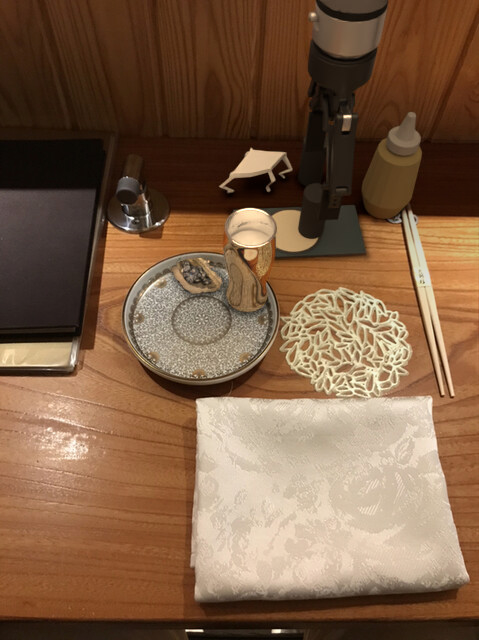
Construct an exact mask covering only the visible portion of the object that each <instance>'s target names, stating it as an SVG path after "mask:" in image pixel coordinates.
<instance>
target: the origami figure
mask: <svg viewBox="0 0 479 640" xmlns="http://www.w3.org/2000/svg"><path fill="white" fill-rule="evenodd" d="M287 153H288V152H284V151H266V150H260V149H259V150H258V149H253V147H250V149H249V151H246V152H245V154H244V158H243V159H242V160H241V162H240V163H239V164H238V166H236V168H235V169H234V170H233V171H231V172H230V173H229V177H228V178H227V179H226V180H225V181H224V182H223V183H221V184H220V185H219V188H221V189H223V190H226V191H227V192H226V193H227V194H232V193H234V192H235V190H234V189H232V188H230V187H227V186H226V185H227V184H228V183H230V182H231V181H232V180H234V179H239V178H240V179H241V178H251V177H256V176H259V175H263V174H267V173H268V175H269V179H270V182H269V183H268V184H267V185H266V186H265V190H266V192H268V193H270V192H271V187H270V186H271V185H272V184H273V183H274V182H276V178H275V175H274V173H273V169H274V168H275V167H276V166H277V165H279V163H280V162H281V161H283V163H285V165H286V167H287V168H288V169H285V170H283V171H280V172H279V173H278V175H279V176H280V177H281V178H282V179H285V178H286V176H285V175H284V174H286V173H290V172H292V171H293V166H292V163H290V160H289V158H288V156H287Z"/></svg>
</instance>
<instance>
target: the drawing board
mask: <svg viewBox="0 0 479 640" xmlns="http://www.w3.org/2000/svg"><path fill="white" fill-rule="evenodd" d="M301 207H302V206H295V207H293V206H292V207H291V206H290V207H268V208H267V207H266V208H265V207H264V208H260V209H261V210H263V211H265V212H267V213H269V214H270V215H271V216H272V217H273V218H274V220H275V222H276V225H277V245H276V254H275V260H278V259H302V258H305V259H306V258H323V257H324V258H326V257H345V256H346V257H348V256H351V257H352V256H366V255H367V250H366V246H365V240H364V237H363V232H362V229H361V224H360V221H359V216H358V212H357V211H358V210H357V208H356V205H355V204H345V205H341V209H340V214H339V218H338V220H326V221H325V226H324V230H323V234H322V235H321V236H320V237H318V238H315V239H308V238H305V237H303V236H302V235H301V234H300V233H299V231H298V225H299V219H300V213H301ZM237 210H239V208H237V209H232V213H233V212H235V211H237Z"/></svg>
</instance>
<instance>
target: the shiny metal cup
mask: <svg viewBox="0 0 479 640" xmlns="http://www.w3.org/2000/svg"><path fill="white" fill-rule="evenodd" d="M238 209H239V208H238ZM261 209H262V208H256V207H243V208H240V209H239V210H237V209H236V210H237V211H235V212H233V211H232V213H231V214H230V215H228V217H227V218H226V220H225V222H224V231H223V239H222V255H223V256H222V257H223V261H224V266H225V270H226V273H227V277H228V285H227V288H226V294H225V296H226V300H227V302H228V304H229V305H230V306H231V307H232V308H233V309H235V310H236V311H238V312H243V313H252V312H255V311H258V310H260V309H261V308H263V307H264V306H265V304H266V303H267V300H268V297H269V295H268V293H269V292H268V286H267V281H268V278H269V276H270V273H271V271H272V269H273V266H274V263H275V260H276V259H275V254H276V245H277V225H276V222H275V220H274V218H273V217H272V216H271V215H270V214H269V213H267V212H265V211H263V210H261ZM266 286H267V287H266Z"/></svg>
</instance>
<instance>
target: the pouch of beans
mask: <svg viewBox="0 0 479 640" xmlns="http://www.w3.org/2000/svg"><path fill="white" fill-rule="evenodd" d="M183 262H184V263H183ZM210 262H211V261H210V259H208V260H207V258H206V257H205V258H194V259H185V260H183V261H180V262H177V261H176V265H173V266H172V267H170V272H171V273H173V276H174V278H175V279H176V281H179V285H182V288H183V289H184V290H186V291H188V292H190V294H191V295H192V294H199V295H200V294H202V293H205V294H206V293H210V292H211V293H213V292H216V291H219V289H221V285H222V281H223V280H222V277H221V276H219V274H218V273H217V271H213V270H212V268H213V266H212V265H211V264H210ZM182 263H183V265H182Z"/></svg>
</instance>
